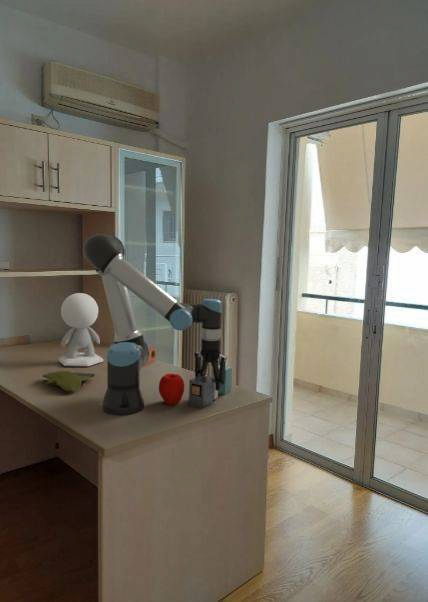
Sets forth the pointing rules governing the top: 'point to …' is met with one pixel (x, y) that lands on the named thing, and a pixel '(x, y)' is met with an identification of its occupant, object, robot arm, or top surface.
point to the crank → (151, 355)
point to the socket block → (225, 381)
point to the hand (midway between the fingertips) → (209, 396)
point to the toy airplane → (67, 379)
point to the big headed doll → (80, 330)
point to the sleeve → (206, 394)
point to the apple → (171, 388)
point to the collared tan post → (199, 387)
